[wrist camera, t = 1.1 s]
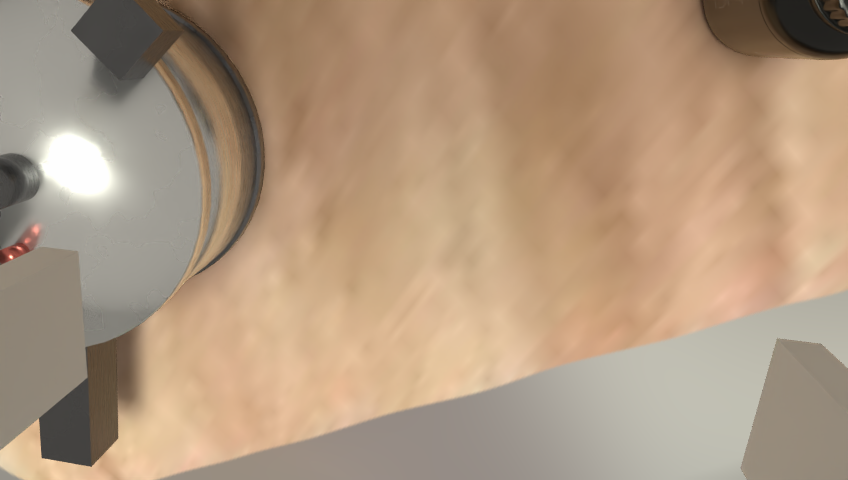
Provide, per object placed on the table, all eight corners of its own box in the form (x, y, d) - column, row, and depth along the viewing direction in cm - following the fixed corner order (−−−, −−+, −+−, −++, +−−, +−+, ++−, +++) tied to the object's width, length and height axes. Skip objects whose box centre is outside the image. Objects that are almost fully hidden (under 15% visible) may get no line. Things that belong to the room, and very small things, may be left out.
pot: (-32, -87, 38) (-163, -119, 31) (275, -50, 37) (218, -73, 29) (5, 382, 48) (-88, 447, 40) (251, 423, 46) (204, 498, 39)
